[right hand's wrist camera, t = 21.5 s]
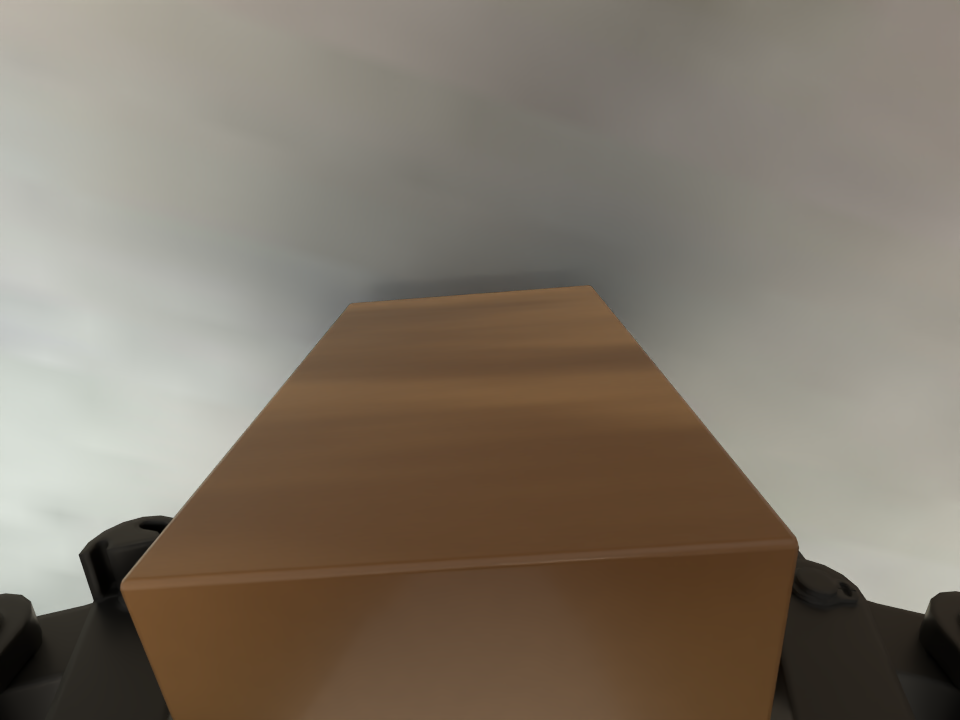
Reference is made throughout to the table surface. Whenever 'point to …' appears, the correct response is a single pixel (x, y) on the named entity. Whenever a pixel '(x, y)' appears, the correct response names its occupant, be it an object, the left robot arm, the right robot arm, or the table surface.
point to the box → (470, 535)
